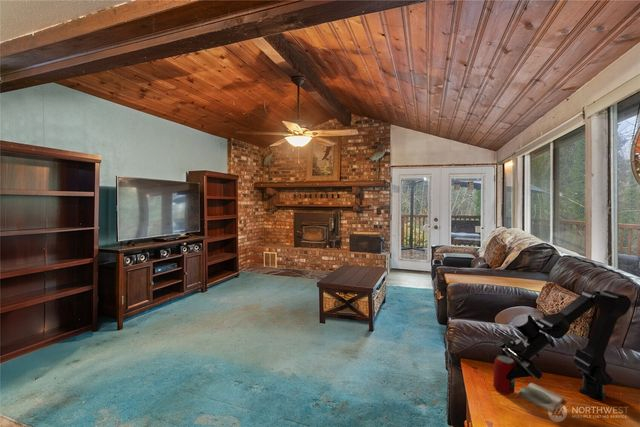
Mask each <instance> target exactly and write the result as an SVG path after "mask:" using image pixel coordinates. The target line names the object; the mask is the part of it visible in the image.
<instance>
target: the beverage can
mask: <svg viewBox="0 0 640 427" xmlns="http://www.w3.org/2000/svg"><path fill="white" fill-rule="evenodd" d="M515 366H516V362H514V359H513V358H512V357H507V356H504V355H499V354H498V355H496V358H495V359H494V363H493V381H492V383H493V384H492V385H493V387H494V388H495V390H496V391H497V392H499V393H501V394H503V395H513V394H514V393H515V389H516V387H515V386H516V378H515V379H509V380H508V379H507V378H506V376H507V375H508V373H509V372H510V371H511V370H512V369H513V368H514V367H515Z"/></svg>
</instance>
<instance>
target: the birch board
mask: <svg viewBox="0 0 640 427" xmlns="http://www.w3.org/2000/svg"><path fill="white" fill-rule="evenodd" d="M519 390H520V391H519V392H518V394H517V396H518V397H520V398H521V399H524V400H526V401H528V402H530V403H531V404H534V405H536V406H537V407H540V408H542V407H543V408H542V409H544V408H545V409H544V410H546V409H547V410H546V411H548V410H549V411H548V412H550V411H551V412H550V413H553V412H554V411H555V410H556V408H557V407H558V406H559V405H560V404H561V403H562V402H563V401H564V396H562V395H561V394H558V393H556V392H554V391H551V390H549V389H547V388H546V387H543V386H540V385H539V384H535V383H533V382H530V383H528V385H526V386H524V387H521V388H520V389H519ZM553 410H554V411H553ZM552 411H553V412H552Z"/></svg>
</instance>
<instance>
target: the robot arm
mask: <svg viewBox="0 0 640 427" xmlns="http://www.w3.org/2000/svg"><path fill="white" fill-rule="evenodd" d="M596 305H597V308H598V311H599V312H598V315H597V318H596V320H595V323H594V326H593V327H592V328H593V329H592V331H591V333H590V336H589V339H588V341H587V344H586V346H585V347H584V348H582V349H580V348H577V349H576V350H575V354H574V355H573V357H572V358H573V363H574V365H575V367H576V369H577V371H578V372H580V373H581V374H582V385H581V387H580V388H579V389H578V392H579V391H580V392H579V393H582V394H584V395H586V396H589V397H590V398H594V399H596V400H598V401H601V402H603V401H604V400H605V399H606V396H607V393H605V392H604V388H605V386H608V385H611V384H612V382H613V381H614V379H613V378H612V377H611V375H609V373H608V372H607V371H606V369H607V361H606V358H605V353H606V351H607V347H608V345H609V342H610V340H611V337H612V335H613V331H614V330H615V327H616V325H617V321H618V320H619V318H621V317H623V316H625V315H626V314H627V313H628V311H629V310H630V308H631V307H632V301H631V299H630V297H629V296H627V295H626V294H622V293H619V292H616V291H612V290H610V289H609V290H608V289H604V290H603V291H598V290H584V291H582V292H581V294H580V295H579V296H578V297H576V298H575V299H574V300H572V301H571V302H570V303H569V304H567V305H565V306H564V307H563V308H562V309H561V310H559V311H557V312H556V313H551V314H547V315H546V316H545V315H544V317H542V318H539V319H534V318H533V317H532V315H531V314H529V313H527V312H526V313H524V314H519V315H517V316H515V317H514V318H512V321H511V323H512V325H513V326H514V328H516V329H517V331H518V332H520V334H521V335H522V336H523V337H525V338H523V339H522V338H518V339H515V338H514V337H511V336H509V335H508V334H504V335H503V337H502V339H499V340H497V341H496V342H495V343H496V345H497V346H498V350H499V354H498V355H504V356H507V357H510V358H512V357H513V358H514V359H515V360H516V361H515V365H516V366H515V367H514V368H513V369H512V370H511V371H510V372H509V373H508V375H507V376H506V378H507V379H508V380H509V379H515V380H516V379H519V378H528V377H530V378H533V377H534V378H535V379H537V380H540V379H541V378H542V377H543V371H541V369H539V367H538V366H537V365H536V364H535V362H533V361H531V360H532V359H533V358H534V357H536V358H539V357H541V355H540V354H539V353H540V352H541V351H542V350H543V349H545V347H547V346H550V347H551V348H552V349H553V348H555V343H554V342H555V341H554V339H558V340H559V339H563V337H565V335H566V334H567V333H568V332H569V331H570V328H571V325H572V323H574V322H576V320H578V319H579V318H581V317H582V316H583V315H585V314H586V313H588V311H590V310H591V309H592V308H594V307H595V306H596ZM547 335H548V336H549V337H548V336H547ZM553 338H554V339H553Z"/></svg>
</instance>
